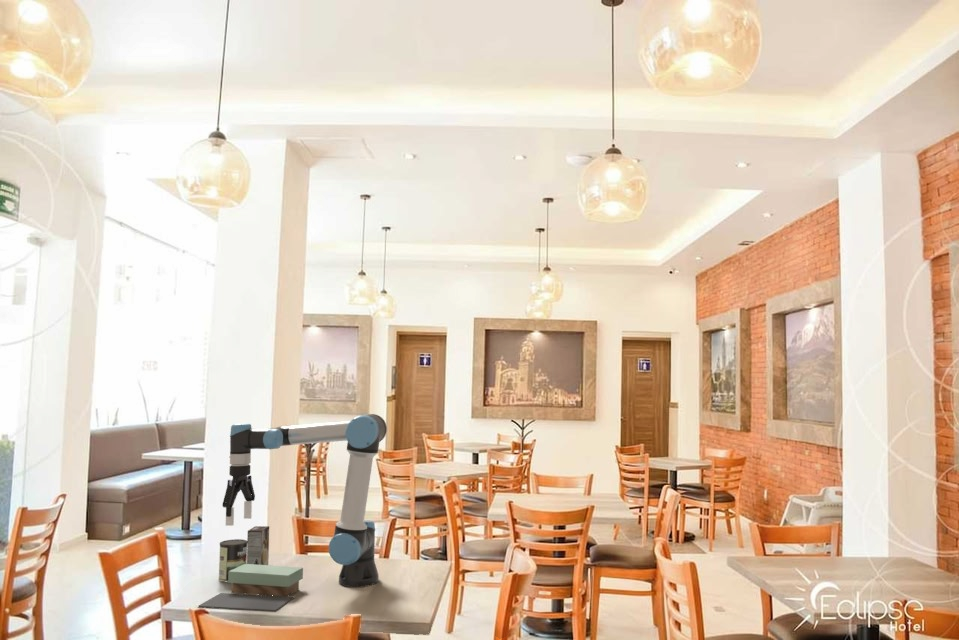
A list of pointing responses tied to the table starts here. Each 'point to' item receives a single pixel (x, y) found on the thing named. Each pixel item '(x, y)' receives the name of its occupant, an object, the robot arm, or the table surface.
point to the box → (264, 589)
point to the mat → (247, 602)
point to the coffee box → (258, 545)
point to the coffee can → (231, 556)
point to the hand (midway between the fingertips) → (238, 521)
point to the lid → (265, 575)
